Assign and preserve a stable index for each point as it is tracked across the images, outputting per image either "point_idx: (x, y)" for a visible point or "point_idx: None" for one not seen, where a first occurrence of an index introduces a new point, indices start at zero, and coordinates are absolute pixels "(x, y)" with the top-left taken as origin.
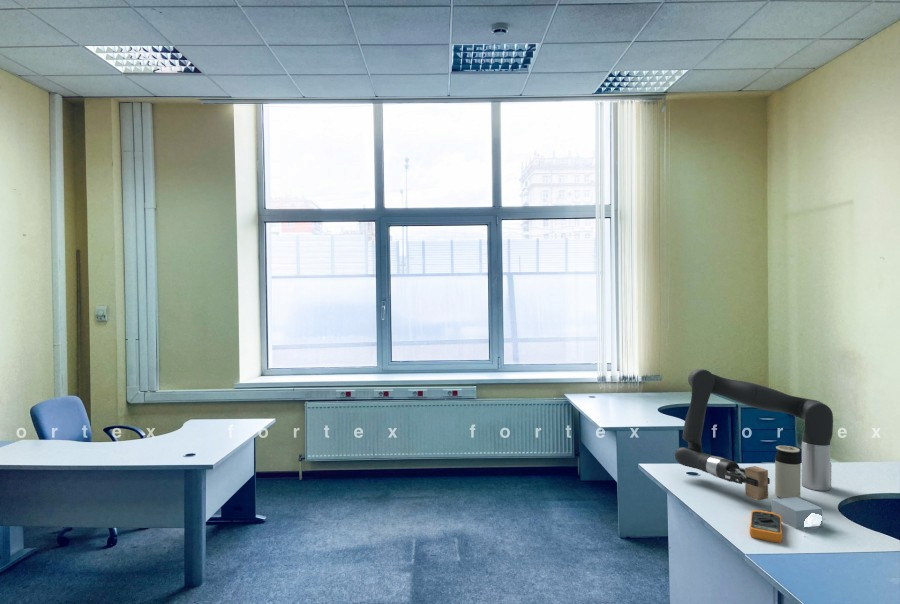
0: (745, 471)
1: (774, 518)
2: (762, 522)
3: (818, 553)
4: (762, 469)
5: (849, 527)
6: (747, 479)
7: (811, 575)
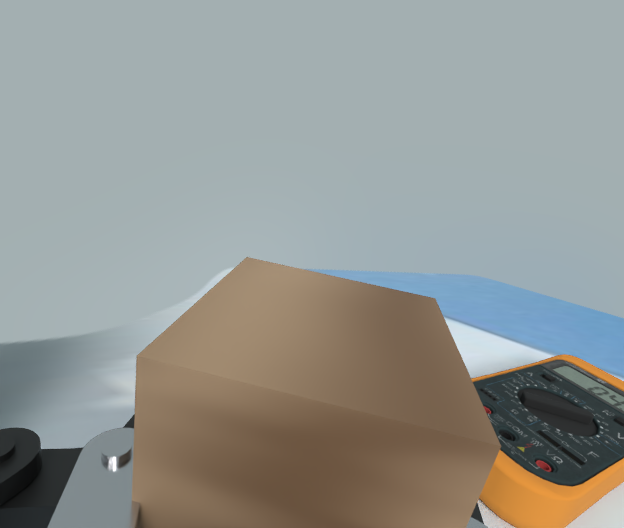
0: (467, 509)
1: (491, 395)
2: (589, 411)
3: (480, 327)
4: (274, 281)
5: None
6: (478, 518)
7: (577, 325)
